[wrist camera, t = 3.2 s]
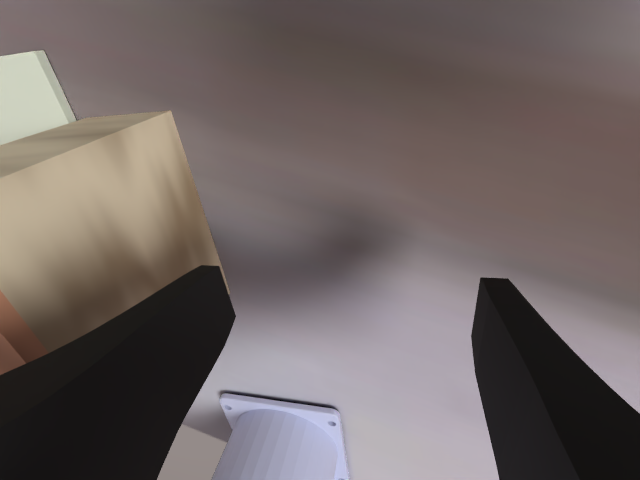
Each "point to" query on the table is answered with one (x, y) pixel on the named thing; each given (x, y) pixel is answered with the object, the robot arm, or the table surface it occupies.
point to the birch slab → (92, 227)
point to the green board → (30, 97)
